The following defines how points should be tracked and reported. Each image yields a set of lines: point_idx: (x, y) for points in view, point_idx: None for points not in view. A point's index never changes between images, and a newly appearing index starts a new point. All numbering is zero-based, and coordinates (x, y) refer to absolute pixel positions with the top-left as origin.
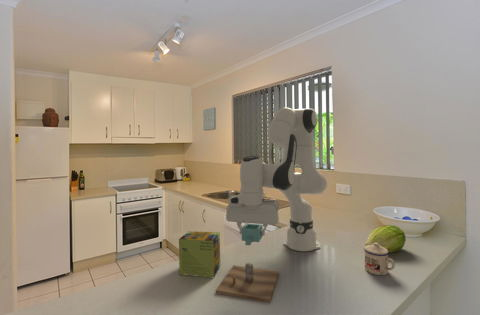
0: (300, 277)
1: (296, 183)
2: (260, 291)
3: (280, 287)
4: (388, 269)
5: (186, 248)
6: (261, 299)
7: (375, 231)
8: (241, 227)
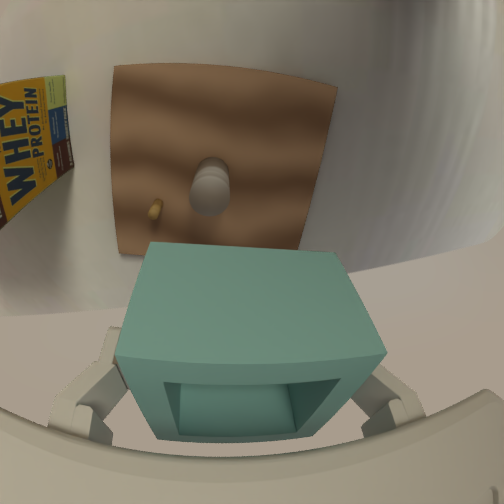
0: (403, 114)
1: None
2: (263, 235)
3: (330, 180)
4: None
5: None
6: None
7: None
8: (113, 386)
